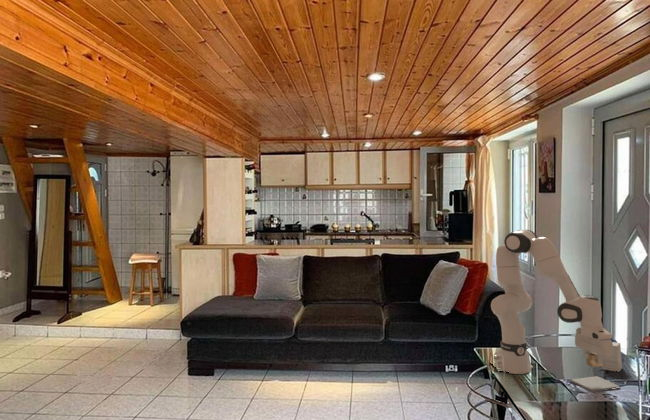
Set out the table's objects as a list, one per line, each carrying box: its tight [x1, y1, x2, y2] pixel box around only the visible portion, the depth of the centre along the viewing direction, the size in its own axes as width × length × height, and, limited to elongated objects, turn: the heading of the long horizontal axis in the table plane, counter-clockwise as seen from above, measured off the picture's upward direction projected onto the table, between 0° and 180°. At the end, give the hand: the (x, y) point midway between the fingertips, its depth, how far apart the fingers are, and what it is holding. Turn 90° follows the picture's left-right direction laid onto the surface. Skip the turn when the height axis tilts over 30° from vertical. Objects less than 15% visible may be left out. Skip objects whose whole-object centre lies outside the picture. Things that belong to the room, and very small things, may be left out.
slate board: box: [570, 375, 621, 393], centre depth 219 cm, size 14×14×1 cm
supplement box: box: [602, 342, 623, 373], centre depth 238 cm, size 7×7×13 cm
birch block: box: [585, 352, 603, 368], centre depth 219 cm, size 4×4×5 cm
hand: (594, 361), depth 218 cm, fingers closed on birch block, 4 cm apart
